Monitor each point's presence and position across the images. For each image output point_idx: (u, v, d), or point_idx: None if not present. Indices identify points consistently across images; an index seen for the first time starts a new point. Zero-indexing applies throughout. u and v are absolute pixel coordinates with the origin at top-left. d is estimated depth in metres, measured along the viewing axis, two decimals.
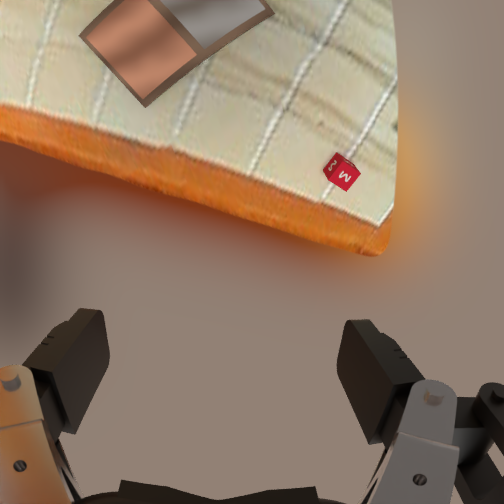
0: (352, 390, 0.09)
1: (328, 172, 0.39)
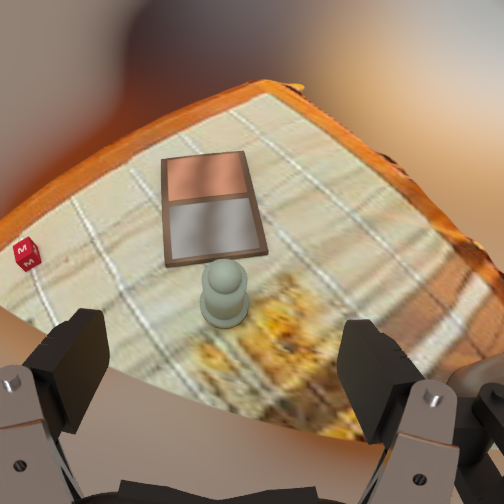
0: (352, 390, 0.09)
1: (33, 243, 0.38)
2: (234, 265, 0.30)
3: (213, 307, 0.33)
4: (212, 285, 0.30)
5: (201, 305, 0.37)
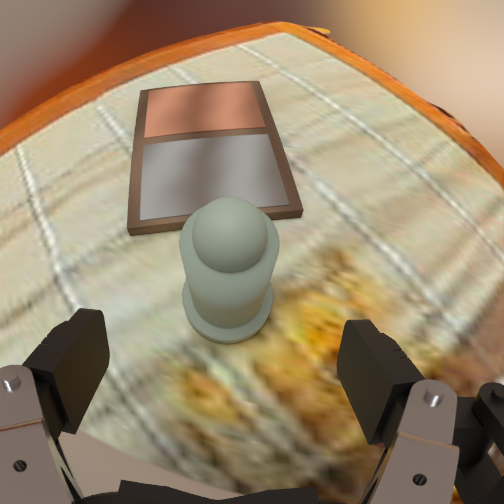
0: (352, 390, 0.09)
1: None
2: (252, 206, 0.13)
3: (205, 303, 0.16)
4: (201, 251, 0.13)
5: (185, 300, 0.20)
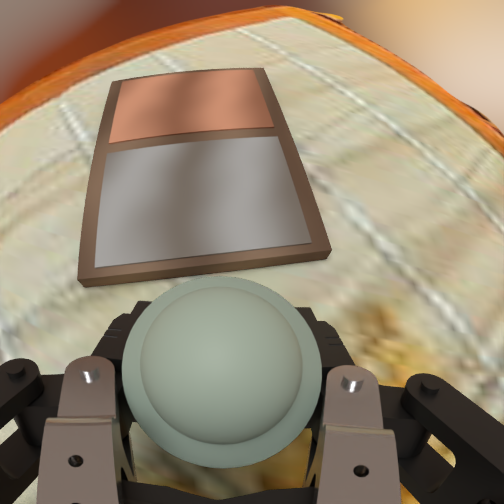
0: None
1: None
2: (273, 318, 0.06)
3: None
4: (160, 414, 0.05)
5: None
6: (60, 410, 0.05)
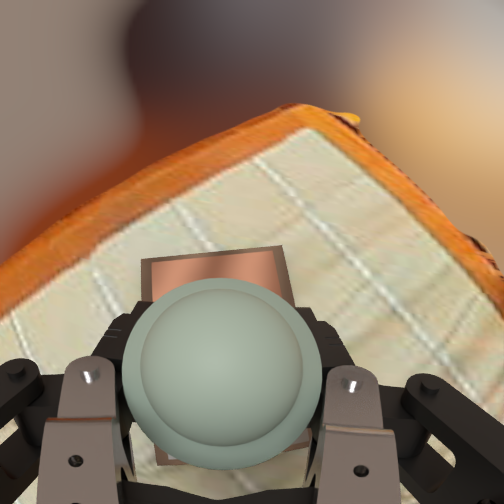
0: None
1: None
2: (273, 320, 0.06)
3: None
4: (160, 416, 0.05)
5: None
6: (60, 410, 0.05)
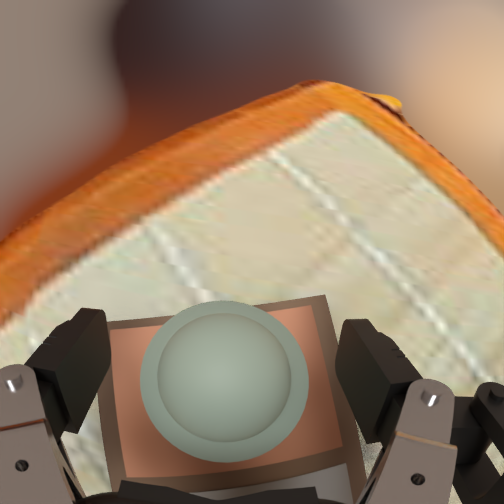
0: (350, 389, 0.09)
1: None
2: (266, 341, 0.07)
3: None
4: (174, 418, 0.06)
5: None
6: None
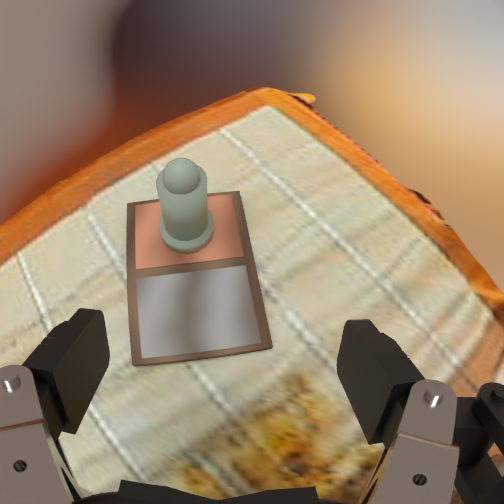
0: (352, 390, 0.09)
1: None
2: (191, 161, 0.26)
3: (169, 218, 0.29)
4: (165, 183, 0.26)
5: (160, 225, 0.32)
6: None
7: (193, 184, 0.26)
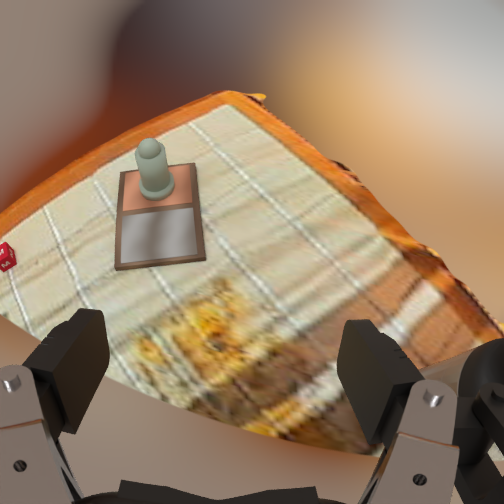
0: (352, 390, 0.09)
1: (9, 247, 0.42)
2: (155, 139, 0.42)
3: (143, 175, 0.44)
4: (139, 152, 0.41)
5: (139, 183, 0.48)
6: None
7: (155, 152, 0.42)
